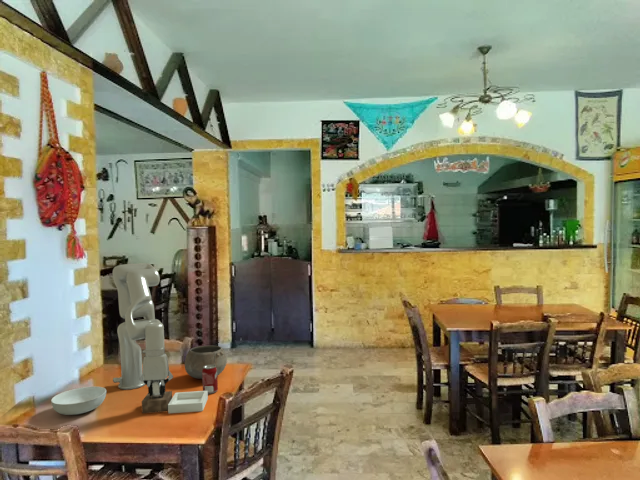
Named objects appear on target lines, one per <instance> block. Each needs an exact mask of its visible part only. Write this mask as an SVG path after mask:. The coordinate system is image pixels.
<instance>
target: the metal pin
mask: <svg viewBox="0 0 640 480" xmlns="http://www.w3.org/2000/svg"><path fill="white" fill-rule="evenodd" d="M156 398H162V395H161V380H152V399H156Z"/></svg>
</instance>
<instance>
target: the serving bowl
mask: <svg viewBox="0 0 640 480" xmlns="http://www.w3.org/2000/svg"><path fill="white" fill-rule="evenodd" d="M106 396H107V389H106V388H105V387H102V386H84V387H83V386H82V387H78V388H73V389H70V390H66V391H63V392H61V393H60V392H59V393H58V394H56V395H55V396H53V397H52V398H51V399H50V402H51V406H52V409H53V410H54V411H55V412H56V413H58V414H61V415H66V416H71V415H72V416H73V415H75V416H76V415H82V414H85V413H88V412H90V411H92V410H95V409H96V408H98V407H100V406H101V405H102V403H103V402H104V401H105V398H106Z"/></svg>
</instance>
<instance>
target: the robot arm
mask: <svg viewBox="0 0 640 480" xmlns="http://www.w3.org/2000/svg"><path fill="white" fill-rule="evenodd" d="M112 279H113V282H114V284H115V286H116V289H117V296H118V297H117V298H118V299H117V300H118V311H119V316H120V318H122V319H123V320H124V322H122V323H120V324H119V325H118V326H117V337H118V342H119V349H120V350H119V353H120V370H121V373H120V374H121V376H120V377H113V378H112V382H113V384H114V383H115V384H116V383H118V385H117V388H118V389H120V390H127V391H128V390H134V389H139V388H142V387H144V386H146V387H147V389H148V393H150V396H152V380H161V395H163V394H164V393H165V392H166V384H167V383H168V382H170V381H171V380H172V379H173V378H174V375H173V373H172V372H171V371H170V366H169V359H168V355H167V354H166V353H165V352H166V349H165V330H164V329H165V327H164V324H163V323H162V322H161V320H159V319H157V318H156V317H155V304H154V302H153V300H152V295H151V291H150V288H149V287H155V286H158V285H159V284H160V281H161V280H160V279H161V277H160V274H159V271H158V269H156V267H154V266H153V265H152V264H151V263H148V262H141V263H128V264H126V263H125V264H120V265H119V264H118V265H116V266H114V268H113V269H112ZM142 317H143V318H142ZM135 318H142V319H138V320H137V319H136V320H135ZM144 339H145V340H144ZM138 340H144V341H145V349H143V350H142V348H141V346H140V344H138V343H137V342H136V341H138ZM143 354H145V356H144V357H143V356H142V355H143ZM142 357H143V358H142ZM148 393H147V394H148Z"/></svg>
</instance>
